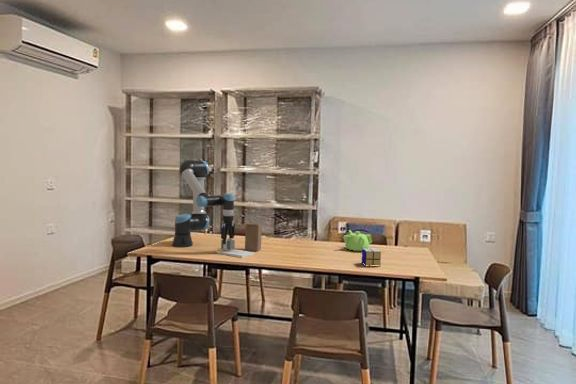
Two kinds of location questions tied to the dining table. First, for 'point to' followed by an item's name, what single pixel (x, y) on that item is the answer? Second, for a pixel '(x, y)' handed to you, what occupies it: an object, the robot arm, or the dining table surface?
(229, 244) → the sanding block
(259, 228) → the wooden block
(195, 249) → the dining table surface
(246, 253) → the board
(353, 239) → the teapot
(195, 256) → the dining table surface
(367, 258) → the puzzle cube
